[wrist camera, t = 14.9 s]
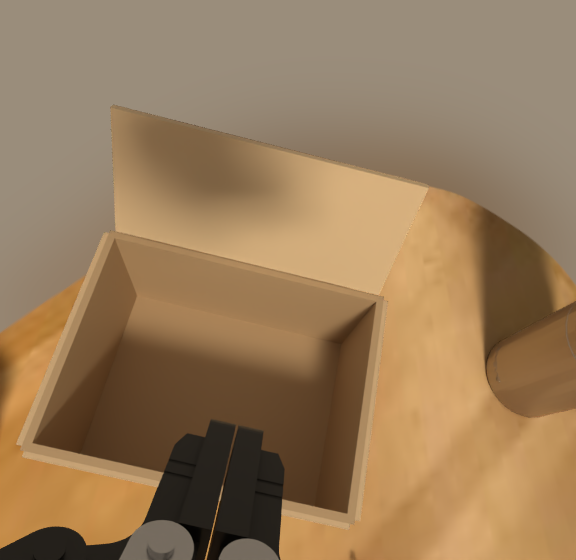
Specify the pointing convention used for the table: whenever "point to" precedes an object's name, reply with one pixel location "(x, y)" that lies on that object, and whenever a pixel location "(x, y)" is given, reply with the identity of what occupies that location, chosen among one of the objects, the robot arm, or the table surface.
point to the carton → (213, 372)
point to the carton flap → (258, 201)
